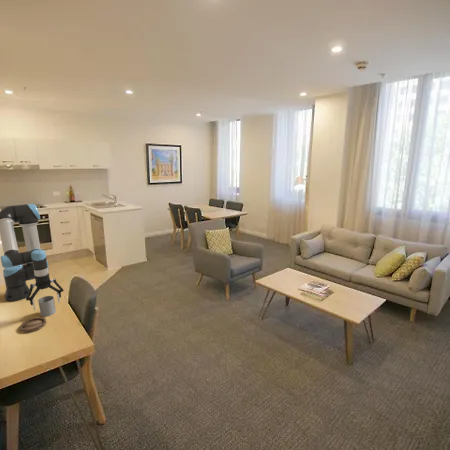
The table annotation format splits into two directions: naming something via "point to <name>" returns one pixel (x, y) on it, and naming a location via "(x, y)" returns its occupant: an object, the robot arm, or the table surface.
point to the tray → (33, 324)
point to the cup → (47, 306)
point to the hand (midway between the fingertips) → (47, 305)
